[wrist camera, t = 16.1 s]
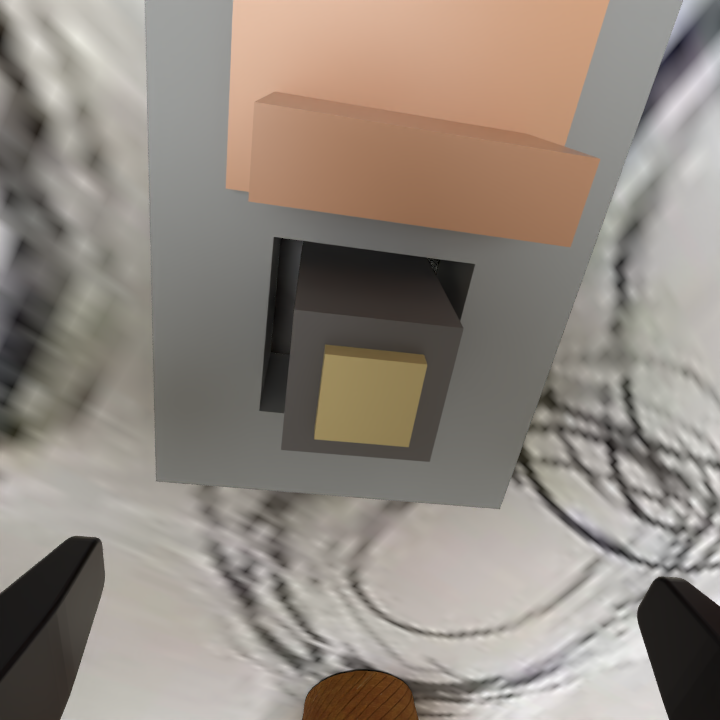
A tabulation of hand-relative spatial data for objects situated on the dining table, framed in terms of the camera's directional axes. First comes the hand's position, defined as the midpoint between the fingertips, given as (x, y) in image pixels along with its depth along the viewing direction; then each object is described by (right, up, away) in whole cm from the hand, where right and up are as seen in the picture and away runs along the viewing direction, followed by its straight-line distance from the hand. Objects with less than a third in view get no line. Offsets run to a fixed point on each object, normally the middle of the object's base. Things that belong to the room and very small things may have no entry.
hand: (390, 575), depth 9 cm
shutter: (+1, +10, +4) cm, 11 cm away
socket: (0, +8, +10) cm, 13 cm away
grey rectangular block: (-1, +6, +11) cm, 12 cm away
